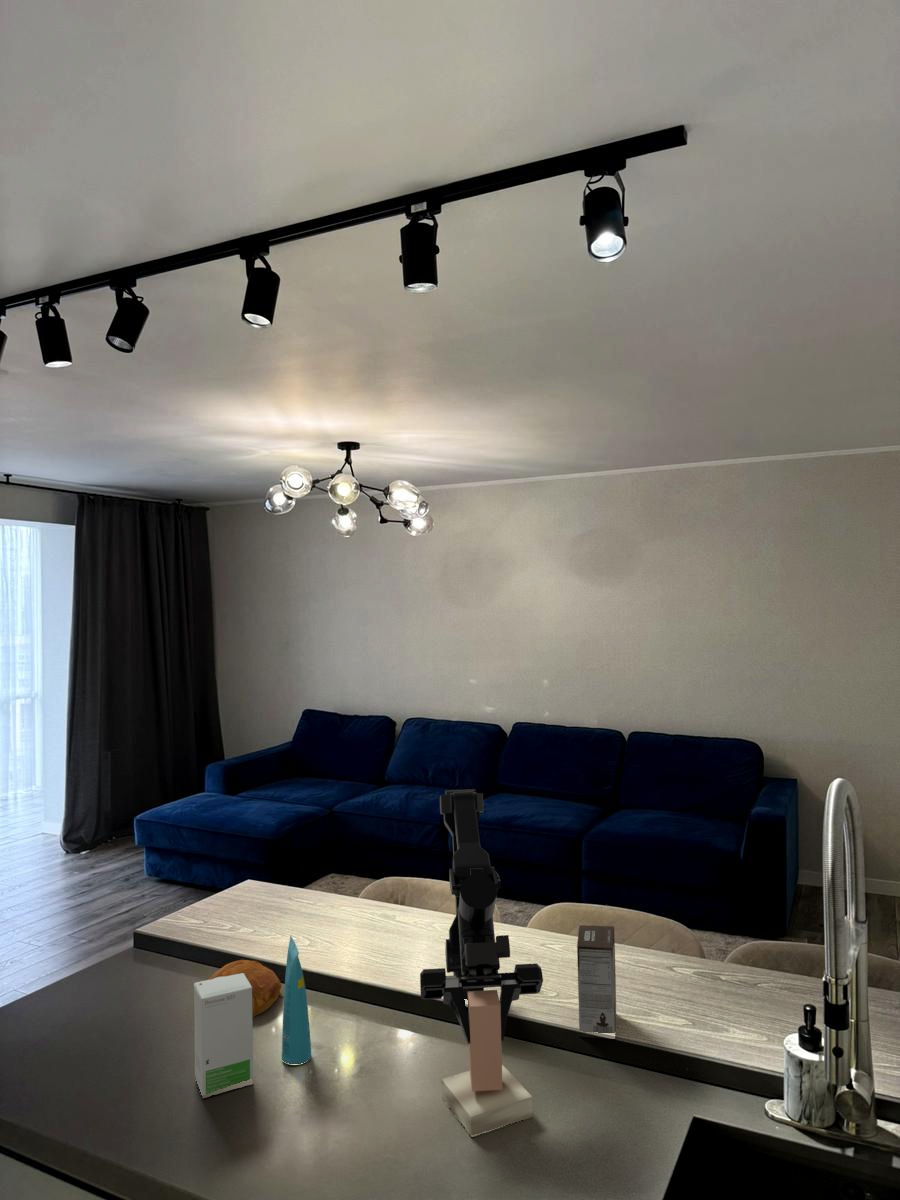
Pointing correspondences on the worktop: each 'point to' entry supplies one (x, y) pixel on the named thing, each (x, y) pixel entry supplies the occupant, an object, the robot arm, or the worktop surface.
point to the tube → (295, 1012)
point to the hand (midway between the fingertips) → (485, 1042)
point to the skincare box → (223, 1032)
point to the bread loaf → (255, 982)
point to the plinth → (486, 1102)
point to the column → (485, 1040)
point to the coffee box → (596, 979)
